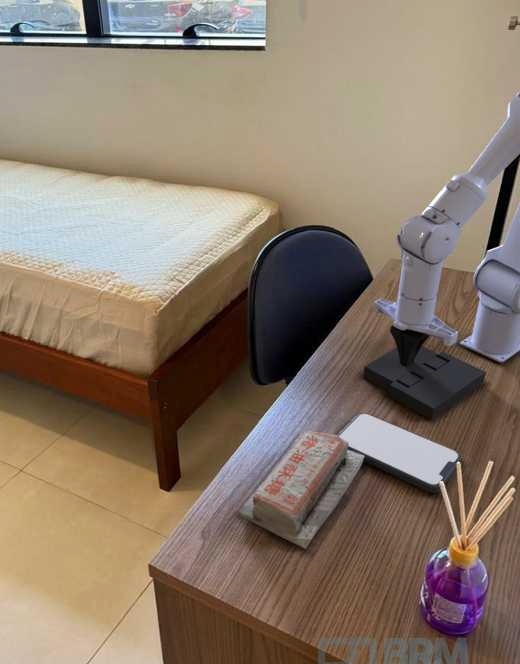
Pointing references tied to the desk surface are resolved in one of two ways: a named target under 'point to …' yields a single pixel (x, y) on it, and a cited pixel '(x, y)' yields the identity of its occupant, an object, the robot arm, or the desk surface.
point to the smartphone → (401, 452)
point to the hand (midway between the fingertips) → (406, 362)
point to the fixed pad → (438, 386)
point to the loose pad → (400, 368)
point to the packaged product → (303, 487)
